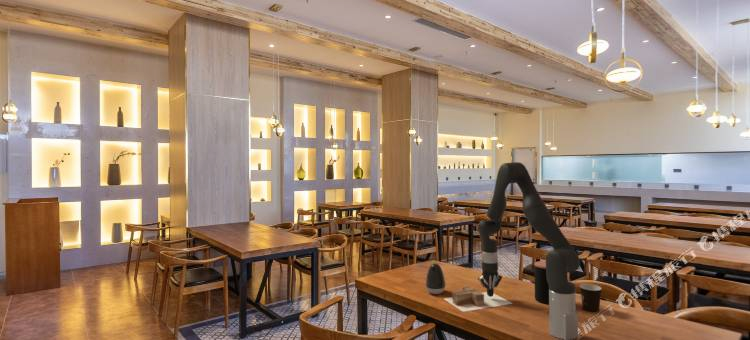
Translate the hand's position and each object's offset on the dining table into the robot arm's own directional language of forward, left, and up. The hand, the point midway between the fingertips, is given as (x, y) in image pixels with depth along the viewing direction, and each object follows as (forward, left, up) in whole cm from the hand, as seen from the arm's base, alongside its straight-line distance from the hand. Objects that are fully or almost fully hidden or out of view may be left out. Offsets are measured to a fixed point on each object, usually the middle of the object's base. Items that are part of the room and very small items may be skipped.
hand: (490, 296), depth 190 cm
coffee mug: (-26, -35, -2) cm, 44 cm away
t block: (+1, +13, -1) cm, 13 cm away
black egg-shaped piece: (+19, +20, -2) cm, 28 cm away
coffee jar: (-12, -23, -2) cm, 26 cm away
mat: (0, +7, -2) cm, 8 cm away
